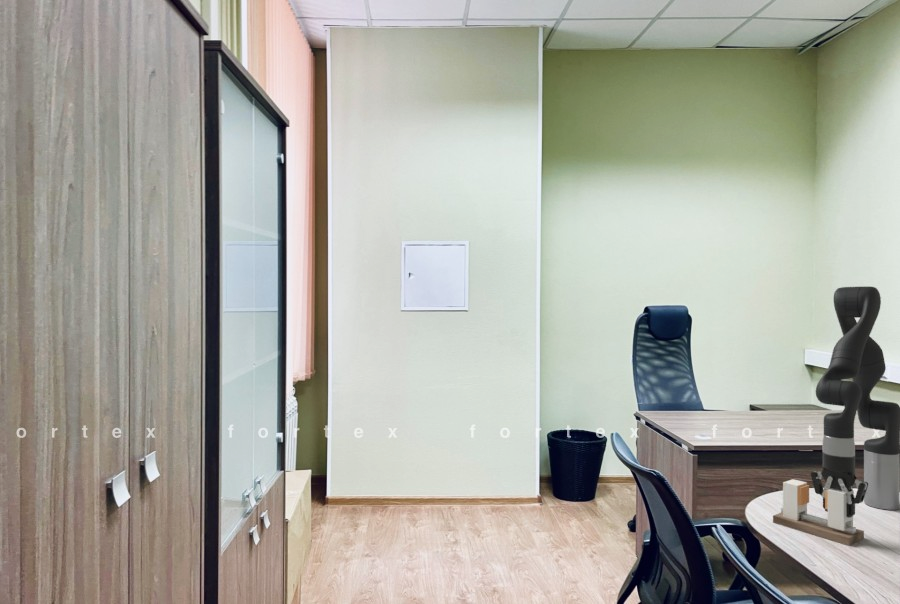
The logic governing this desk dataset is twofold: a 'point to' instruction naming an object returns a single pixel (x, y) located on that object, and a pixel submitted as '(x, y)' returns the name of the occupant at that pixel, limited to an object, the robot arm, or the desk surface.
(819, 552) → the desk surface
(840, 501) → the white block with pad
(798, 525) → the rail
